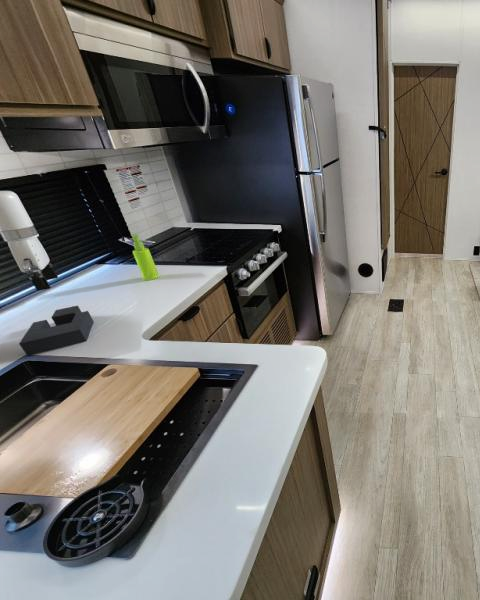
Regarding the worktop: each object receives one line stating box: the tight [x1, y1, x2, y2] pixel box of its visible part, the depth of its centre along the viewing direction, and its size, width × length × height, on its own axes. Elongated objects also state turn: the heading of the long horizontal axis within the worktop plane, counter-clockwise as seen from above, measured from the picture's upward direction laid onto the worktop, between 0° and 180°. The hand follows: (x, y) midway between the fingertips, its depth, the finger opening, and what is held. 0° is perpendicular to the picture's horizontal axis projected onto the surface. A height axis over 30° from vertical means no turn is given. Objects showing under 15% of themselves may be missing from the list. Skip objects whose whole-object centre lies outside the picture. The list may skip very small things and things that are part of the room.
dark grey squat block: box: [51, 305, 82, 326], centre depth 116 cm, size 6×6×4 cm
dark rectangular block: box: [18, 310, 94, 356], centre depth 107 cm, size 14×14×4 cm
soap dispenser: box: [130, 233, 160, 281], centre depth 146 cm, size 6×7×20 cm
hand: (48, 283), depth 109 cm, fingers open, 9 cm apart
